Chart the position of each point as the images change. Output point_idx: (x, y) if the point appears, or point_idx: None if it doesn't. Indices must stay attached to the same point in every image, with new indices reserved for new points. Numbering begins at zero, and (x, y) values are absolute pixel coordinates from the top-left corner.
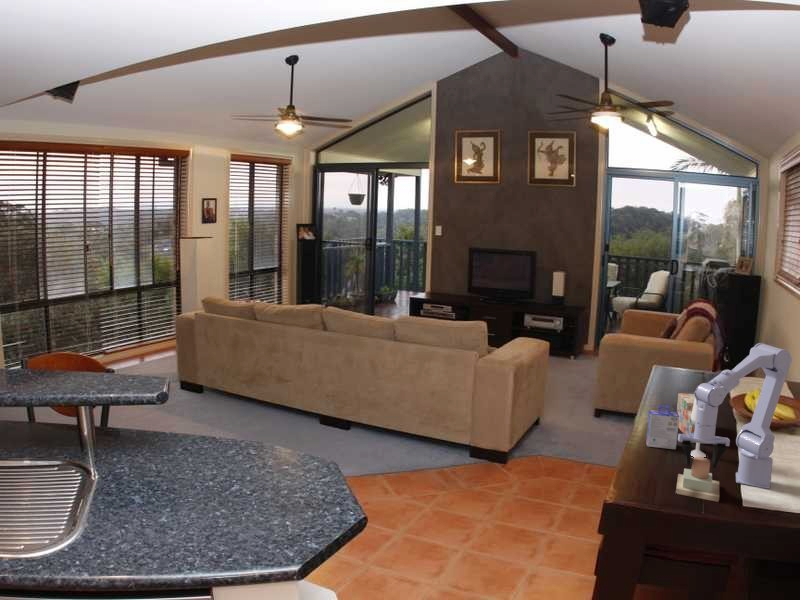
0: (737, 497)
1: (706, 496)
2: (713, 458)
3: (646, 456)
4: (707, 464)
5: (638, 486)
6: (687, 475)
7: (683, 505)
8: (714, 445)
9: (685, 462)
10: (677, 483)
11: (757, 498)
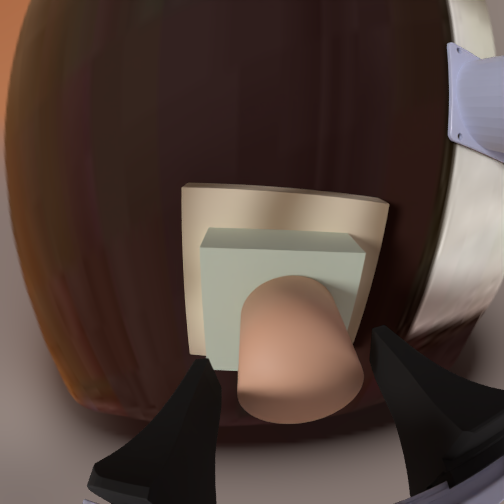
0: (418, 280)
1: None
2: (394, 375)
3: (67, 12)
4: (330, 410)
5: (79, 325)
6: (223, 338)
7: (225, 398)
8: (441, 446)
9: (193, 364)
10: (188, 310)
11: (471, 257)
